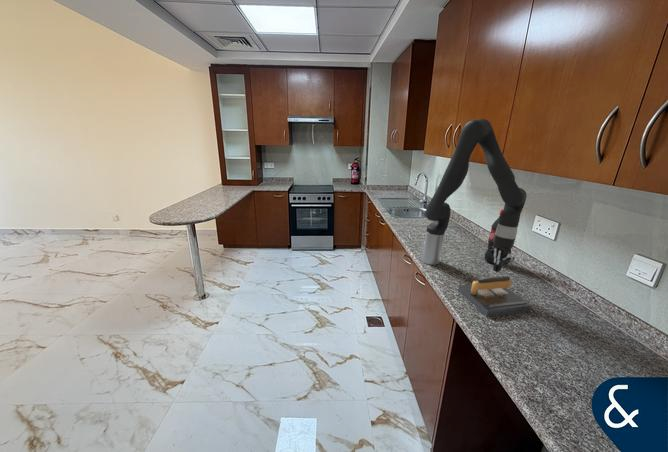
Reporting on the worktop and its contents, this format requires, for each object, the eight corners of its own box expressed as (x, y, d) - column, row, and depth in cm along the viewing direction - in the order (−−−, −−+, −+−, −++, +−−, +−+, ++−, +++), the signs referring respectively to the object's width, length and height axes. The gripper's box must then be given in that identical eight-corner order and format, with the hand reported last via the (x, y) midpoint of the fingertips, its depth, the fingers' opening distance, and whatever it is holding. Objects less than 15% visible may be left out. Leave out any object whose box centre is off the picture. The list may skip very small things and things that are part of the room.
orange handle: (469, 291, 116) (472, 277, 114) (504, 288, 120) (508, 274, 118) (473, 295, 114) (476, 281, 112) (509, 291, 117) (513, 277, 115)
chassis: (457, 291, 123) (459, 284, 121) (496, 287, 126) (497, 281, 125) (486, 316, 106) (488, 309, 105) (529, 311, 110) (531, 304, 109)
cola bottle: (491, 265, 147) (505, 212, 137) (479, 258, 155) (492, 208, 145) (504, 264, 149) (518, 212, 139) (492, 257, 157) (504, 207, 147)
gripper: (486, 229, 121) (478, 264, 127) (510, 241, 109) (500, 279, 114) (501, 229, 122) (492, 263, 128) (525, 240, 110) (515, 277, 116)
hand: (496, 271), depth 121 cm, fingers closed
